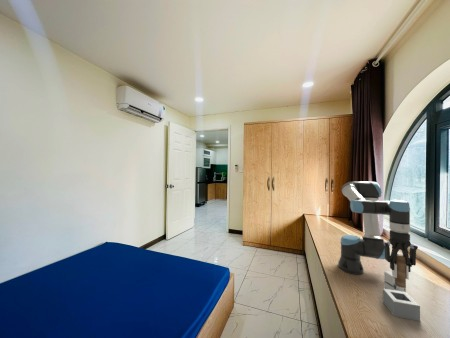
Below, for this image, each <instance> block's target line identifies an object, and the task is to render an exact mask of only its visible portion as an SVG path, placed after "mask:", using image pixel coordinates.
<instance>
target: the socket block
mask: <svg viewBox="0 0 450 338" xmlns="http://www.w3.org/2000/svg"><path fill="white" fill-rule="evenodd" d="M382 302H383V304H384V305H385V306H386V307H387V309H388V310H389V311H390V313H391V314H392V315H393V316H394V317H396V318H402V319H407V320H413V321H417V322H421V306H420V304H419V303H418V302H417V301H416V300H415V299H414V298H413V297H412V296H411V295H410V294H409V293H407V291H406V292H402V291H396V290H390V289H385V287H384V288H383V289H382Z"/></svg>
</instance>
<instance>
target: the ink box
mask: <svg viewBox="0 0 450 338" xmlns="http://www.w3.org/2000/svg"><path fill="white" fill-rule="evenodd" d="M383 274H384V275H383V277H384V278H383V279H384V289H390V290H396V291H402V292H407V286H406V287H405V288H402V287H399V286H397V285H396V284H395V277H394V276H393V275H392V270H386V271H384V272H383Z"/></svg>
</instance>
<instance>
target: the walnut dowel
mask: <svg viewBox="0 0 450 338" xmlns="http://www.w3.org/2000/svg"><path fill="white" fill-rule="evenodd" d="M395 264H396V265H397V278H395V284H396V285H397V286H399V287H402V288H405V287H406V288H407V279H406V259H405V256H404V255H403V254H401V253H397V257H396V261H395Z"/></svg>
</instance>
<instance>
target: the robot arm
mask: <svg viewBox="0 0 450 338" xmlns="http://www.w3.org/2000/svg"><path fill="white" fill-rule="evenodd" d="M341 193H342V194H343V196H344V197H346V198H347V200H349V202H350V203H349V204H350V205H349V208H350V210H351V212H352V213H357V214H362V219H363V229H364V235H363V236H362V238H361V237H360V236H358V235H353V234H345V235H343V236H341V238H340V257H339V260H338V262H337V263H338V265H337V266H338V268H339V269H340V270H342V271H344V272H345V273H348V274H354V275H362V274H363V273H364V270H365V269H364V266H363V264H362V260H361V257H362V258H363V257H365V258H369V259H370V258H371V259H376V260H385V261H386V262H388V263H389V268H390V269H391V271H392V275H393V276H394V277H395V278H397V265H396V264H395V261H396V257H397V254H399V253H398V252H399V251H401V253H402V255H404V256H405V259H406V280H409V279H410V278H409V274H410V273H411V270H412V269H411V268H412V267H414V266H416V263H417V250H418V248H419V246H418V245H416V244H414V243H412V242H411V233H410V232H411V217H410V216H411V215H410V213H411V208H410V203H409V201H407V200H398V199H391V200H379V199H380V198H381V197H382V188H381V187H380V185H379V183H378V182H376V181H348V182H346V183H344V184H343V185H342V186H341ZM379 215H381V216H382V215H384V216H389V240H388V241H384V238H383V237H382V236H381V232H380V222H379ZM390 247H391V248H390ZM408 250H409V251H408Z"/></svg>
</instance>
